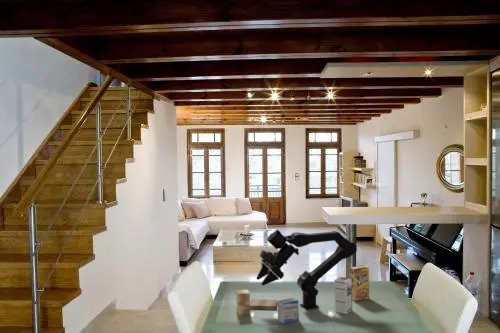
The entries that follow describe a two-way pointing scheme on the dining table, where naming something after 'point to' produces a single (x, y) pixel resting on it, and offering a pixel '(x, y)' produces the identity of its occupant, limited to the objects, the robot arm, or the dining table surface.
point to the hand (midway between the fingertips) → (259, 281)
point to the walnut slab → (263, 304)
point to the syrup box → (343, 295)
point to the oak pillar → (243, 302)
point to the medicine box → (288, 310)
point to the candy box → (359, 282)
